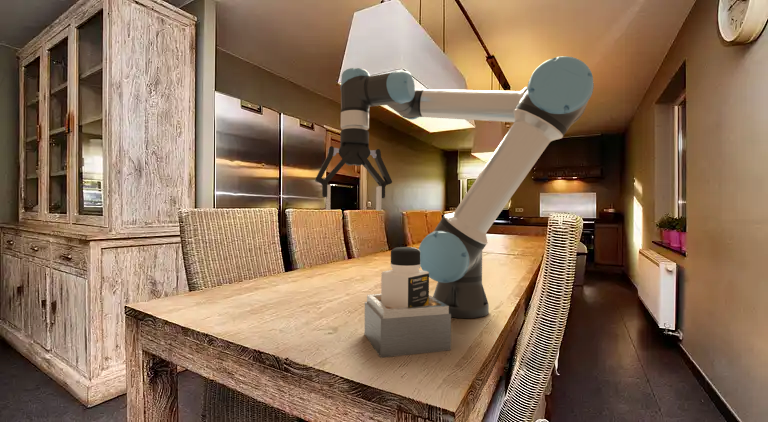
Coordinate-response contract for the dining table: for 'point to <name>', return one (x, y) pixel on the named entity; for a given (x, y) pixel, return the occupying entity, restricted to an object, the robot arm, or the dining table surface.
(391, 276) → the medicine bottle
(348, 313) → the dining table surface
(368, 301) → the grey box
